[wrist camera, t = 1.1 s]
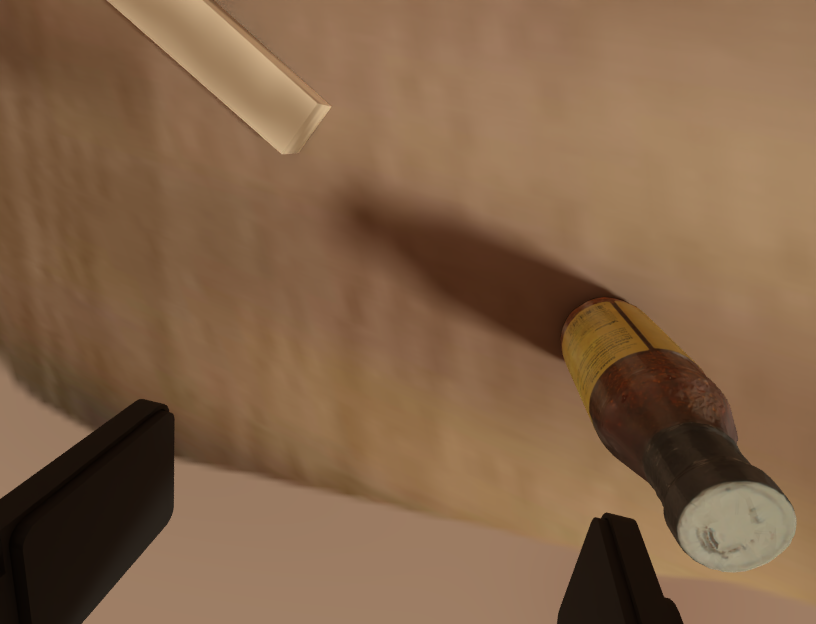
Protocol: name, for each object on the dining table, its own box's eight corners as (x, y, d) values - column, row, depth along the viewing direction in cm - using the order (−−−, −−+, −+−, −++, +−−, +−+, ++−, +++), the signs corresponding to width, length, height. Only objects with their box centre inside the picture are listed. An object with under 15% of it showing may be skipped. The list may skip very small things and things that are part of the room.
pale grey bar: (94, -107, 33) (57, -131, 30) (331, 106, 35) (317, 103, 32) (68, -50, 34) (30, -67, 31) (298, 153, 36) (281, 154, 33)
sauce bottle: (555, 372, 38) (615, 590, 20) (561, 292, 36) (633, 449, 18) (648, 375, 37) (804, 609, 19) (659, 293, 35) (845, 462, 17)
